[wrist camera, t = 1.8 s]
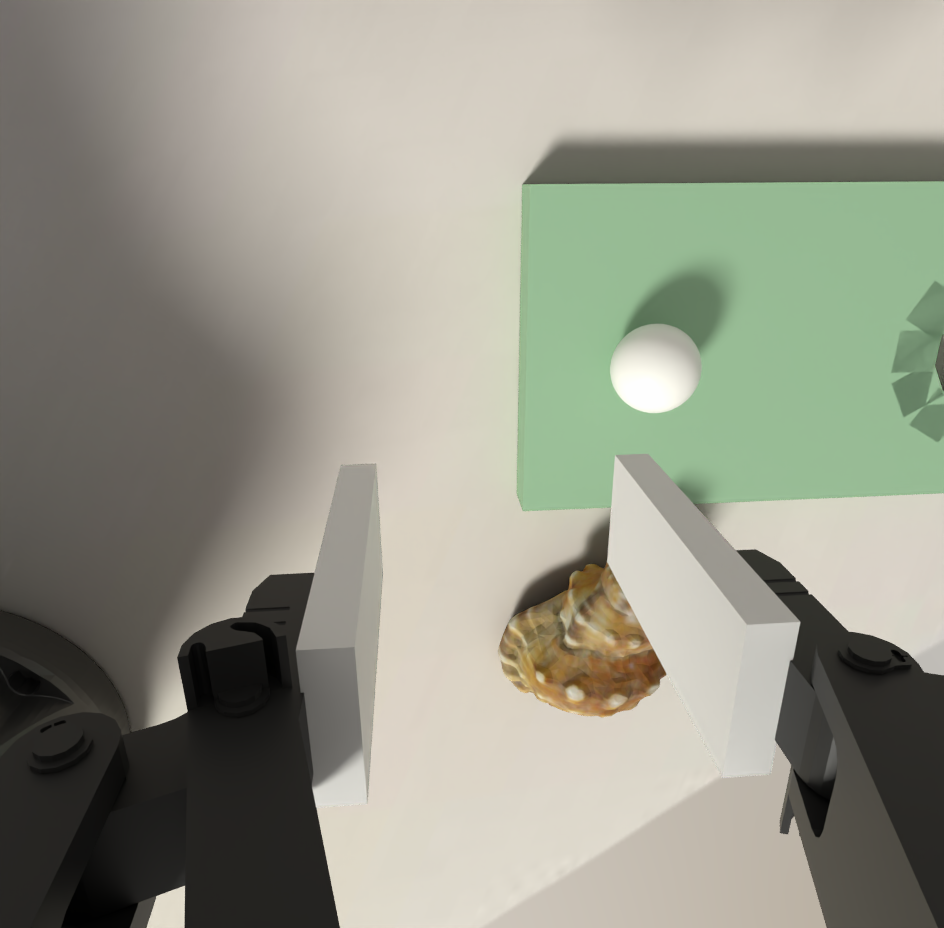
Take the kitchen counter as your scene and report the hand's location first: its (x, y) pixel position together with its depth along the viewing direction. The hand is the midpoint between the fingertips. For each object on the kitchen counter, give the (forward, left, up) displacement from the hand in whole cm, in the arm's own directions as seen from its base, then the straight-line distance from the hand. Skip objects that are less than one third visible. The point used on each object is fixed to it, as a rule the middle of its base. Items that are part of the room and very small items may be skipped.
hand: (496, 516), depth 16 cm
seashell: (+7, -13, -17) cm, 23 cm away
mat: (+17, 0, -17) cm, 24 cm away
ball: (+8, 0, -13) cm, 15 cm away
